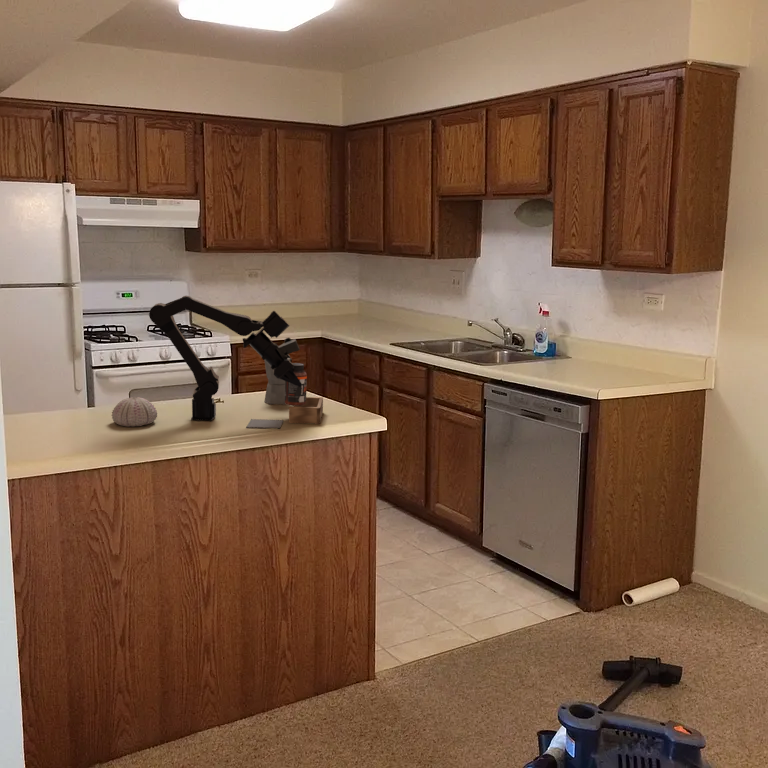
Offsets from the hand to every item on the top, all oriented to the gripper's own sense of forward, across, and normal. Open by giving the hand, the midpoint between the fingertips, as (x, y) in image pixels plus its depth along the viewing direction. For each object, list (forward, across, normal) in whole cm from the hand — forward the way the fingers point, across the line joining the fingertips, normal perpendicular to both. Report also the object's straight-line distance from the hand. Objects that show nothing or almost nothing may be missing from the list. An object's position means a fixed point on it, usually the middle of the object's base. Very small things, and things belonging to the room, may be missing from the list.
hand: (300, 383), depth 263 cm
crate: (+9, 0, +6) cm, 11 cm away
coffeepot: (+4, +25, +12) cm, 28 cm away
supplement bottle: (+4, 0, +6) cm, 7 cm away
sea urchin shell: (-26, -6, +44) cm, 52 cm away
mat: (0, -9, +16) cm, 18 cm away
